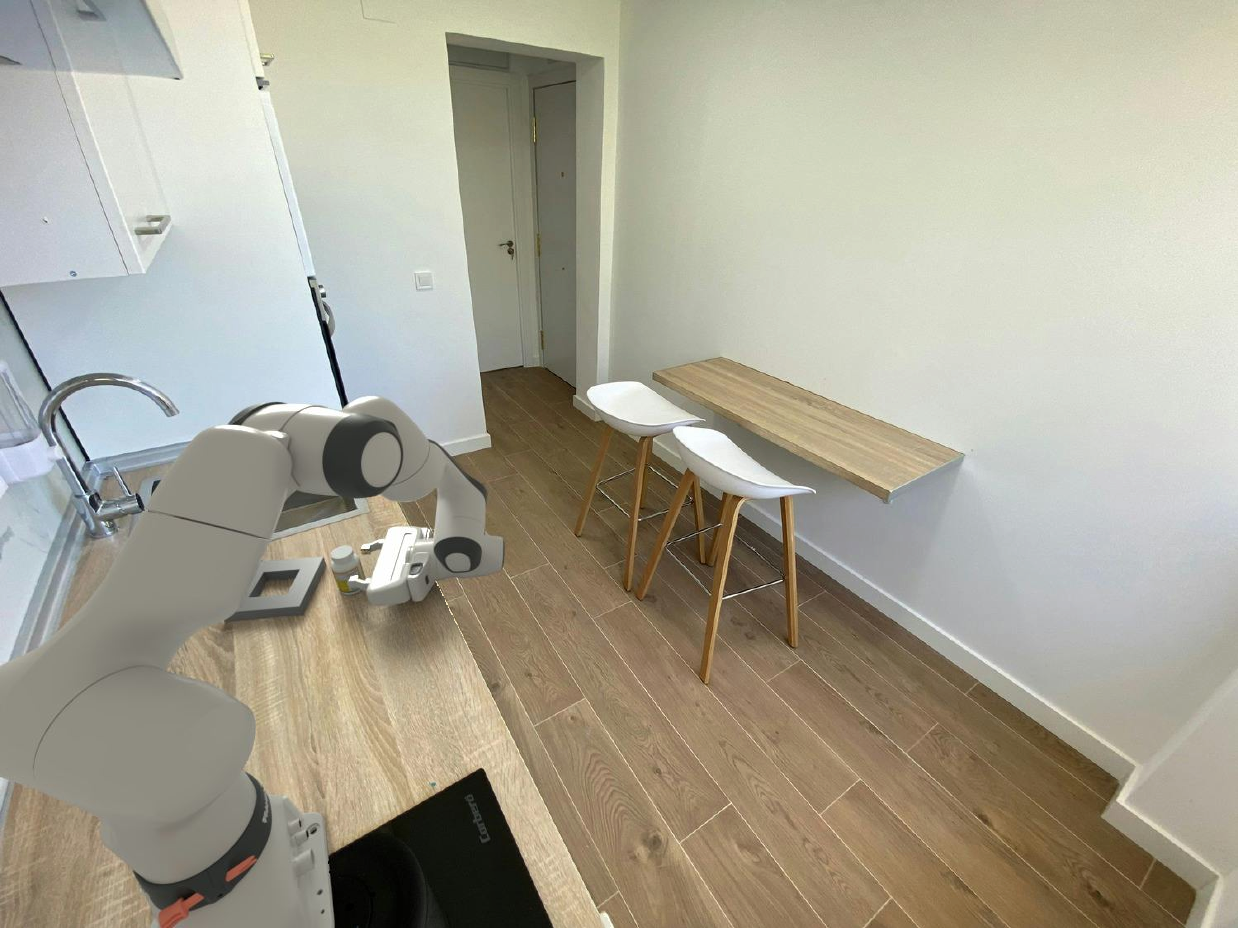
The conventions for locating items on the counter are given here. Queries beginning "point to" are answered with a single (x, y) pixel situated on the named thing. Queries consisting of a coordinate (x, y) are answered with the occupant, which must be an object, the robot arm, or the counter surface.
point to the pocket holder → (281, 605)
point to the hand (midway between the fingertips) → (355, 565)
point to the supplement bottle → (346, 568)
